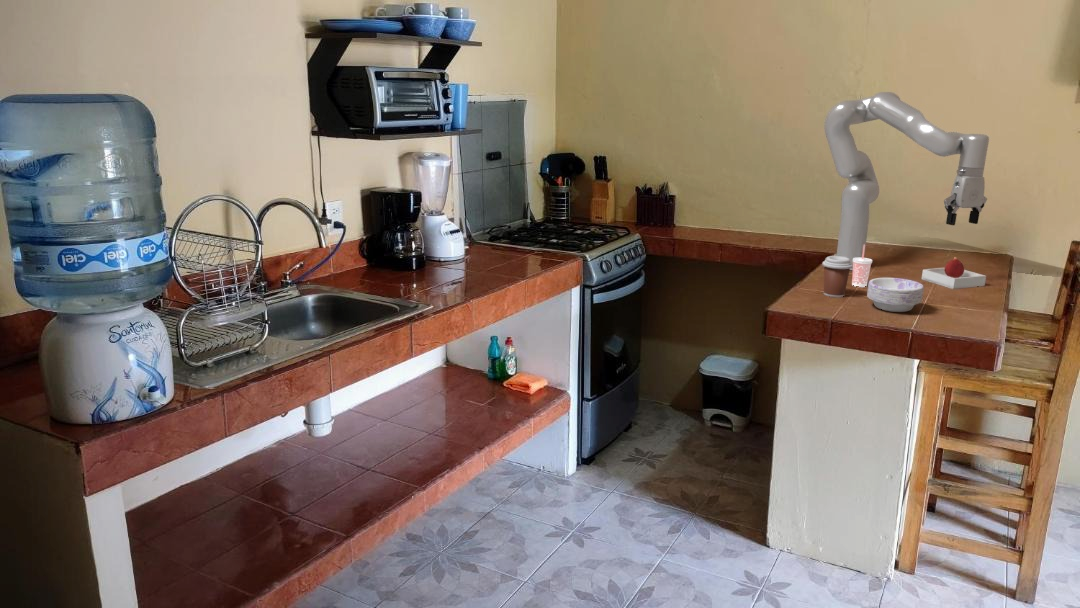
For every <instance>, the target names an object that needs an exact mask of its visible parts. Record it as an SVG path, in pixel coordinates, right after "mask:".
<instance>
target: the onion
mask: <svg viewBox="0 0 1080 608" xmlns="http://www.w3.org/2000/svg"><path fill="white" fill-rule="evenodd" d="M944 268H945V273H946V275H947V276H949V277H953V278H959V277H960V276H962V275H963V273H964V270H965V266H964V264H963V262H961V261H960V260H959V258H958V257H957V256H954V257H953V259H952V260H950V261H949V262H947V263H946V264H945V266H944Z"/></svg>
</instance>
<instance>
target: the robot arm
mask: <svg viewBox="0 0 1080 608" xmlns="http://www.w3.org/2000/svg"><path fill="white" fill-rule="evenodd" d="M876 120H881V121H882V122H884V123H886V125H889V126H890V127H892V128H894V129H896V130H898V131H899V132H901V133H902V134H904V135H905V136H906V137H907V138H909V139H911V140H912V141H913V142H914V143H915V144H918V146H921V147H922V148H924V149H926V150H927V151H929V152H931V153H932V154H934V155H936V156H939V157H949V156H953V155H959V161H958V166H957V170H956V174H957V175H956V176H955V177H954V181H953V184H952V186H951V193H950V195H949V196H948V197H946V198H945V199H944V200H943V203H944V209H945V210H946V213H947V215H946V221H945V224H946V225H950V226H956V222H957V215H958V214H957V212H958V210H959V209H961V208H962V209H969V208H971V210H970V212H969V217H968V223H969V224H975V225H977V224H979V218H980V213H981V212H982V210H983V208H984V207H985V204H986V203H987V201H988V198H987V197H986V196H985V187H986V186H985V184H986V183H985V177H984V172H985V166H986V161H987V160H986V159H987V154H988V147H989V141H990V138H989V136H988V135H987V134H981V133H960V132H957V131H956V132H955V131H949V132H947V131H945V130H943V129H941V128H940V127H937V126H936V125H934V124H933V123H932V122H930V121H929V120H928V119H926V117H925V116H924V114H923V113H922V112H921V111H920V110H919V109H917V108H916V107H913V106H912V105H910V104H908V103H906V102H905V101H903V100H901V98H900V96H899V95H898V94H896V93H895V92H892V91H881V92H880V91H879V92H877V93H876V94H874V95H873V96H868V97H864V98H861V99H860V98H859V99H855V100H850V99H849V100H843V101H840V102H838V103H837V104H835V105H834V106H833V107H831V108H830V110H829V111H828V113H827V114H826V116H825V120H824V133H825V137H826V140H827V143H828V146H829V150H830V154H831V157H832V160H833V163H834V166H835V170H836V172H837V174H838V175H839V177H840V178H843V179H848V182H849V183H848V184H846V186H845V187H844V189H843V190H842V194H841V203H840V205H841V213H840V222H839V232H838V241H837V248H836V249H837V250H836V253H834V255H833V256H842V257H846V258H849V259H850V262H851V264H853V258H857V257H861V258H862V254H863V246H864V244H865V248H866V246H867V239H868V231H869V223H870V222H869V221H870V205H871V204H872V203H874V202H875V201H876V200H877V199H878V197H879V194H880V185H879V182H878V178H877V176H876V172H875V170H874V167H873V164H872V160H871V159H870V157H869V155H868V154H866V152H864V151H861V150H858V148H857V145H856V141H855V138H854V136H853V133H852V132H851V130H850V129H851V128H850V126H851V125H859V124H863V123H867V122H871V121H876ZM865 254H866V249H865V250H864V256H865ZM825 260H826V258H825V259H824V261H825ZM850 271H853V267H852V268H850Z"/></svg>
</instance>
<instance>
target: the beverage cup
mask: <svg viewBox="0 0 1080 608" xmlns="http://www.w3.org/2000/svg"><path fill="white" fill-rule="evenodd" d="M864 250H865V251H866V247H865V244H864V246H863V254H862V258H861V257H857V258H853V270H852V279H851V285H852V286H853V285H854V286H853V287H856V286H859V287H858V288H866V287H868V283H869V278H870V277H869V276H870V273H871V271H870V270H871V268H872V267H871V265H872V263H873V259H871V258H867V257H865V255H864ZM865 286H866V287H865Z"/></svg>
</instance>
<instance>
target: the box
mask: <svg viewBox="0 0 1080 608" xmlns="http://www.w3.org/2000/svg"><path fill="white" fill-rule="evenodd" d="M921 280H923V281H926V282H929V283H932V284H935V285H939V286H943V287H946V288H949V289H951V290H957V289H959V290H960V289H967V288H978V287H977V286H979V287H985V286H986V280H987V275H984V274H981V273H977V272H974V271H969V270H967V269H964V273H963V275H962V276H960V277H959V278H953V277H949V276H947V275H946V273H945V267H935V268H925V269H922V274H921Z"/></svg>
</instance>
